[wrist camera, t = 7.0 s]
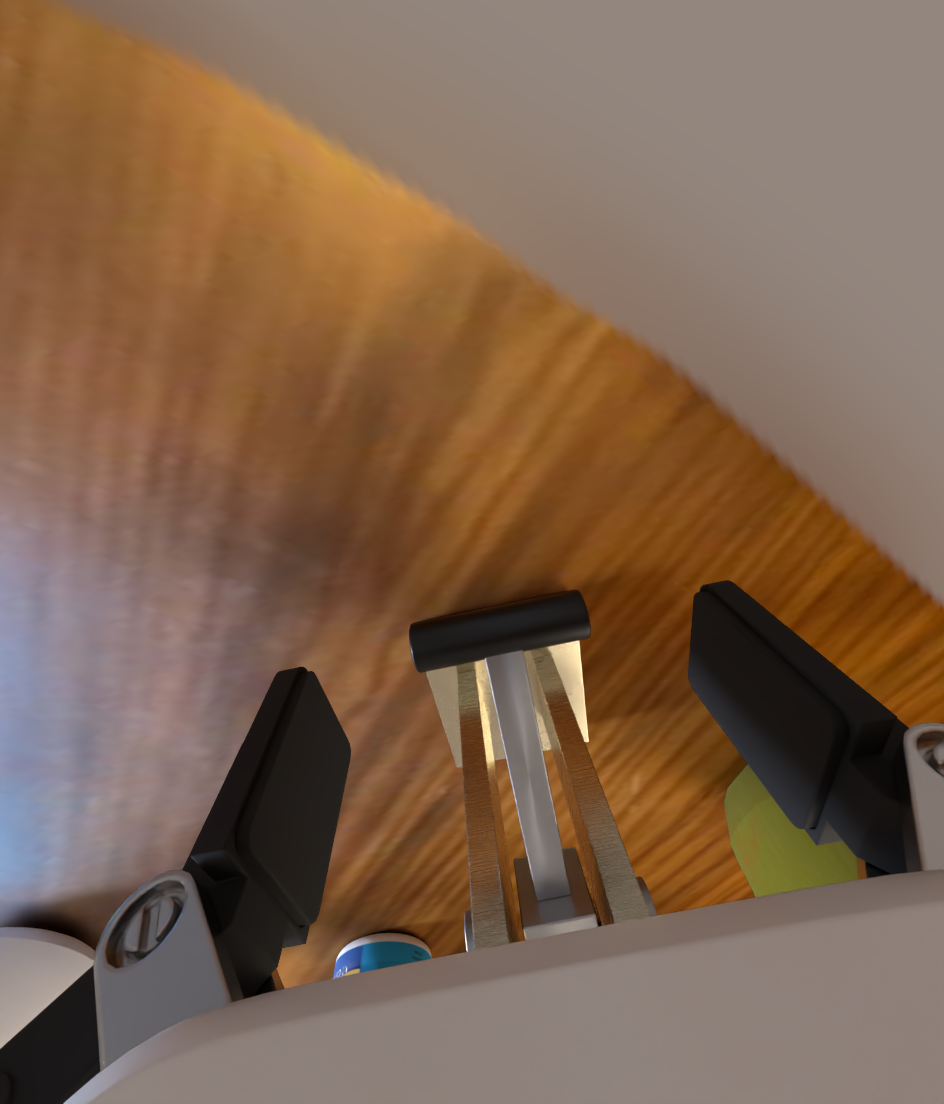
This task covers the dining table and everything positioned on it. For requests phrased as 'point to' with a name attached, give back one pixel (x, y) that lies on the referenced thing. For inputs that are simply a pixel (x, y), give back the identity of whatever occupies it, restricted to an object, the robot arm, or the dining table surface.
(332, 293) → the dining table surface
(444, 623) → the lever
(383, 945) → the beverage bottle
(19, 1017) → the flower in vase
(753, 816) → the apple
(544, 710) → the bracket
